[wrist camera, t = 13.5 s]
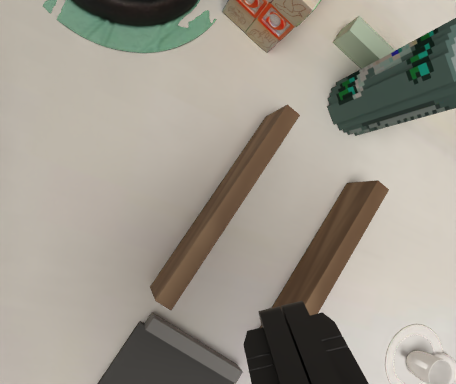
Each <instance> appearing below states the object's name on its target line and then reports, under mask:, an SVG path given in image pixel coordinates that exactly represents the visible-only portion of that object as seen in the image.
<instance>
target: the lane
mask: <svg viewBox="0 0 456 384" xmlns="http://www.w3.org/2000/svg"><path fill="white" fill-rule="evenodd" d="M299 116H300V115H299V114H298V113H297V112H296V111H294V110H293V109H292V108H291V107H290V106H288V105H286V106H284V107H282V108H280V109H279V110H277V111H275V112H273V113H272V114H270V115H268V116H266V117H265V119H264V120H263V122H262V123H261V125H260V126H259V128H258V129H257V130H256V132H255V133H254V135H253V136H252V138H251V139H250V141H249V142H248V144H247V145H246V147H245V148H244V150H243V151H242V153H241V154H240V155H239V157H238V158H237V160H236V161H235V163H234V164H233V166H232V167H231V169H230V170H229V172H228V173H227V175H226V176H225V178H224V179H223V180H222V182H221V183H220V185H219V186H218V188H217V189H216V191H215V192H214V194H213V195H212V197H211V198H210V200H209V201H208V202H207V204H206V205H205V207H204V208H203V210H202V211H201V213H200V214H199V216H198V217H197V219H196V220H195V222H194V223H193V225H192V226H191V227H190V229H189V230H188V232H187V233H186V235H185V236H184V238H183V239H182V241H181V242H180V244H179V245H178V247H177V248H176V250H175V251H174V252H173V254H172V255H171V257H170V258H169V260H168V261H167V263H166V264H165V266H164V267H163V269H162V270H161V272H160V273H159V274H158V276H157V277H156V279H155V280H154V282H153V283H152V285H151V286H150V289H151V291H152V293H153V296H154V298H155V301H157V302H158V303H160V304H161V305H163V306H165V307H166V308H168V309H169V310H172V308H173V307H174V305H175V304H176V302H177V301H178V299H179V298H180V296H181V295H182V293H183V292H184V290H185V289H186V287H187V286H188V284H189V283H190V281H191V280H192V278H193V277H194V275H195V274H196V272H197V270H198V269H199V267H200V266H201V264H202V263H203V261H204V260H205V258H206V257H207V255H208V254H209V252H210V251H211V249H212V248H213V246H214V245H215V243H216V242H217V240H218V239H219V237H220V236H221V234H222V233H223V231H224V230H225V228H226V227H227V225H228V223H229V222H230V220H231V219H232V217H233V216H234V214H235V213H236V211H237V210H238V208H239V207H240V205H241V204H242V202H243V201H244V199H245V198H246V196H247V195H248V193H249V192H250V190H251V189H252V187H253V186H254V184H255V183H256V181H257V180H258V178H259V176H260V175H261V173H262V172H263V170H264V169H265V167H266V166H267V164H268V163H269V161H270V160H271V158H272V157H273V155H274V154H275V152H276V151H277V149H278V148H279V146H280V145H281V143H282V142H283V140H284V139H285V137H286V136H287V134H288V133H289V131H290V129H291V128H292V126H293V125H294V123H295V122H296V120H297V119H298V117H299ZM388 190H389V189H388V188H386V187H385V186H384V185H383V184H382V183H380V182H379V181H366V182H354V183H347V184H346V186H345V187H344V189H343V191H342V192H341V194H340V196H339V197H338V199H337V201H336V202H335V204H334V206H333V207H332V209H331V211H330V212H329V214H328V216H327V217H326V219H325V221H324V222H323V224H322V226H321V227H320V229H319V230H318V232H317V234H316V235H315V237H314V239H313V240H312V242H311V244H310V245H309V247H308V249H307V250H306V252H305V254H304V255H303V257H302V259H301V260H300V262H299V264H298V265H297V267H296V269H295V270H294V272H293V274H292V275H291V277H290V279H289V280H288V282H287V284H286V285H285V287H284V288H283V290H282V292H281V293H280V295H279V297H278V298H277V300H276V302H275V303H274V305H273V307H272V308H274V307H278V306H280V308H281V306H282V305H286V304H290V303H294V302H299V301H303V302H304V304H305V306H306V308H307V311H308V313H309V315H314V314H318V312H319V310H320V309H321V307H322V305H323V303H324V302H325V300H326V298H327V296H328V295H329V293H330V291H331V289H332V288H333V286H334V284H335V282H336V281H337V279H338V277H339V276H340V274H341V272H342V270H343V269H344V267H345V265H346V263H347V262H348V260H349V258H350V256H351V255H352V253H353V251H354V249H355V248H356V246H357V244H358V243H359V241H360V239H361V237H362V236H363V234H364V232H365V230H366V229H367V227H368V225H369V223H370V222H371V220H372V218H373V216H374V215H375V213H376V211H377V210H378V208H379V206H380V204H381V203H382V201H383V199H384V197H385V196H386V194H387V192H388ZM260 328H262V325H261V327H260Z"/></svg>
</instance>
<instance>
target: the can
mask: <svg viewBox="0 0 456 384" xmlns="http://www.w3.org/2000/svg"><path fill="white" fill-rule="evenodd" d="M336 85H337V86H336V87H334V88H332V89H331V90H332V93H330V97H329V98H328V101H329V104H330V106H328V107H327V108H328V110H329V113H330V116H331V118H332V121H333V124H337V125H338V128H339V130H342V129H343V132H347V133H348V135H349V134H353V133H354V134H355V136H356V135H360V134H363V133H367V132H371V131H374V130H378V129H381V128H385V127H389V126H392V125H396V124H400V123H403V122H407V121H410V120H414V119H418V118H421V117H425V116H428V115H432V114H436V113H439V112H443V111H447V110H450V109H454V108H456V18H455V19H453V20H451V21H449V22H447V23H446V24H444V25H442V26H440V27H438V28H436V29H435V30H433V31H431V32H429V33H427V34H425V35H423V36H422V37H420V38H418V39H416V40H414V41H412V42H411V43H409V44H407V45H405V46H403V47H401V48H399V49H398V50H396V51H394V52H392V53H390V54H388V55H387V56H385V57H383V58H381V59H379V60H377V61H375V62H374V63H372V64H370V65H368V66H366V67H364V68H363V69H361V70H359V71H357V72H355V73H353V74H351V75H350V76H348V77H346V78H344V79H342V80H340V81H338V82H337V83H336Z"/></svg>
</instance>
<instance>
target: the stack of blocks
mask: <svg viewBox="0 0 456 384" xmlns="http://www.w3.org/2000/svg"><path fill="white" fill-rule="evenodd" d="M320 1H321V0H228V2H227V4H226V6H225V7H224V9H223V13H225V14H226V15H227V16H228V17H229V18H230V19H231V20H232V21H233V22H234V23H235V24H236V25H237V26H239V27H240V28H241V29H242V30H243V31H244V32H245V33H246V34H247V35H248V36H249V37H250V38H251V39H252V40H253V41H254V42H255V43H257V44H258V45H259V46H260V47H261V48H262V49H263V50H265V51H266V52H269V51H270V50H271V49H272V48H273V47H274V46H275V45H276V44H277V43H278V42H279V41H281V40H282V39H283V38H284V37H285V36H286V35H287V34H288V33H289V32H290V31H291V30H292V29H293V28H294V27H297V26H298V25H299V24H300V23H301V22H302V21H303V20H304V19H305V18H306V17H308V16H309V15H310V14H311V13H312V12H313V10H314V9H315V8H316V7H317V5H318V4H319V3H320Z"/></svg>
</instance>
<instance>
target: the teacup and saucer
mask: <svg viewBox="0 0 456 384" xmlns="http://www.w3.org/2000/svg"><path fill="white" fill-rule="evenodd" d="M411 335H420V336H423V337H425V338H426V339H427V340H428V341H429V342H430V344H431V345H432V348H433V351H434V355H432V354H429V353H426V352H422V351H412V352H411V353H409V355H408V356H407V359H406V364H407V367H408V368H409V370H410V371H411V372H412V373H413V374H414V375H415V376H416V377H418V378H419V379H420V380H422V381H423V382H421V383H419V384H454V382H455V381H456V362H455V360H454V359H453V358H452V357H451V356H449V355H447V354H443V349H442V345H441V342H440V340H439V338H438V336H437V335H436V333H435V332H434V331H433V330H431V329H430V328H429V327H427V326H424V325H419V324H415V325H410V326H407V327H405V328H403V329H402V330H401V331H399V332H398V333H397V334H396V335H395V337H394V338H393V339H392V341H391V343H390V345H389V347H388V350H387V354H386V360H385V368H386V374H387V377H388V380H389V382H390V384H405V383H403V382H402V381H401V380H400V379H399V378H398V377H397V375H396V373H395V369H394V356H395V352H396V350H397V348H398V346H399V344H400V343H401V342H402V341H403V340H404V339H405V338H407V337H409V336H411Z"/></svg>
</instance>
